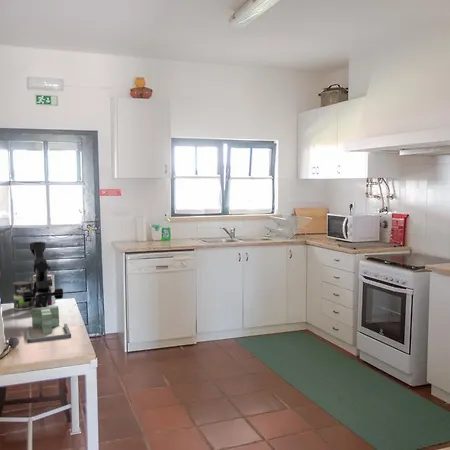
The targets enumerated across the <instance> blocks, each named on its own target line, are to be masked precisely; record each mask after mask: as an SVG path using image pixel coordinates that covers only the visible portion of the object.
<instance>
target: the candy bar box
mask: <svg viewBox="0 0 450 450" xmlns="http://www.w3.org/2000/svg"><path fill="white" fill-rule="evenodd" d="M31 277H32V278H31V281H32V282H33V289H34V283H35V282H36V274H34V275H32V276H31ZM47 277H48V280H49V279H52V286H49V289H50V292H54V291H55V289H56V286H55V285H56V284H55V274H48V275H47ZM55 303H56V298H55V296H51V301H49V302H48V304H47V305H53V304H55ZM33 305H36V301H35V300H33Z"/></svg>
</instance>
